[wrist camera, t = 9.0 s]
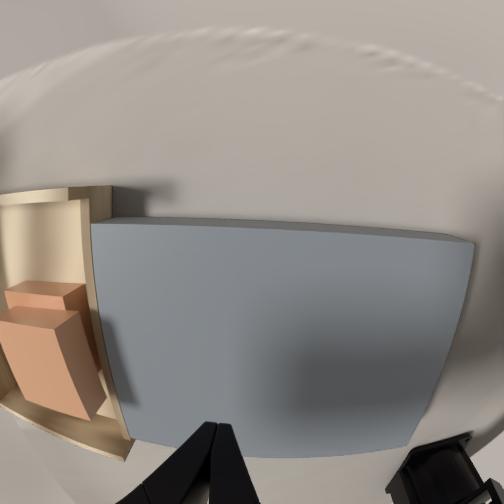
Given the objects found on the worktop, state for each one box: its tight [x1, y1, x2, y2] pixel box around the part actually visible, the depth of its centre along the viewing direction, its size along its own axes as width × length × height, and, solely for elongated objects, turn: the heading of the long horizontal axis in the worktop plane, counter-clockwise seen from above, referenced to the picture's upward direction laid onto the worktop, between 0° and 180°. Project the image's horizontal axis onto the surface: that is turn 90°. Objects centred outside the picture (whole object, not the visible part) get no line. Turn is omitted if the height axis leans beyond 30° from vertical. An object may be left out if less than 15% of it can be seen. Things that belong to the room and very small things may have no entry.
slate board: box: [91, 217, 475, 458], centre depth 13 cm, size 16×12×2 cm
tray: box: [0, 186, 136, 462], centre depth 13 cm, size 12×15×4 cm
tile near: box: [0, 306, 107, 421], centre depth 11 cm, size 5×5×2 cm
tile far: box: [4, 280, 102, 373], centre depth 13 cm, size 5×5×2 cm
